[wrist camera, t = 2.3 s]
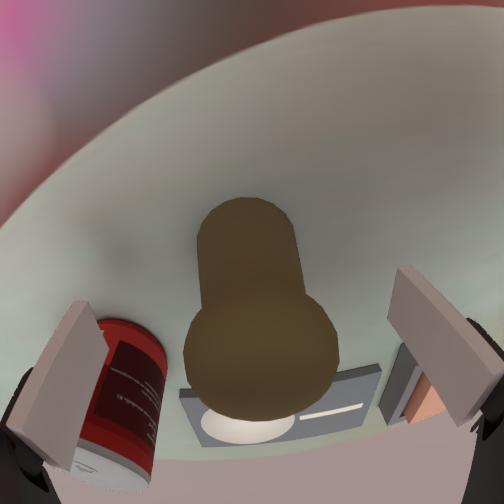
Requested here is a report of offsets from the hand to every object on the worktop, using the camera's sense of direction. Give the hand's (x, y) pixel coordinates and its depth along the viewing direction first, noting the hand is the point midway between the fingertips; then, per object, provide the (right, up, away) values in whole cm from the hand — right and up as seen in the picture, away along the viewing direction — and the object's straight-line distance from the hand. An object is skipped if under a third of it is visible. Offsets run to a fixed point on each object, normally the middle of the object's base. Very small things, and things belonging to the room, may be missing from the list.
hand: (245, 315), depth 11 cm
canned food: (-10, -6, +10) cm, 15 cm away
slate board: (+3, -13, +14) cm, 19 cm away
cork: (0, +3, +7) cm, 7 cm away
